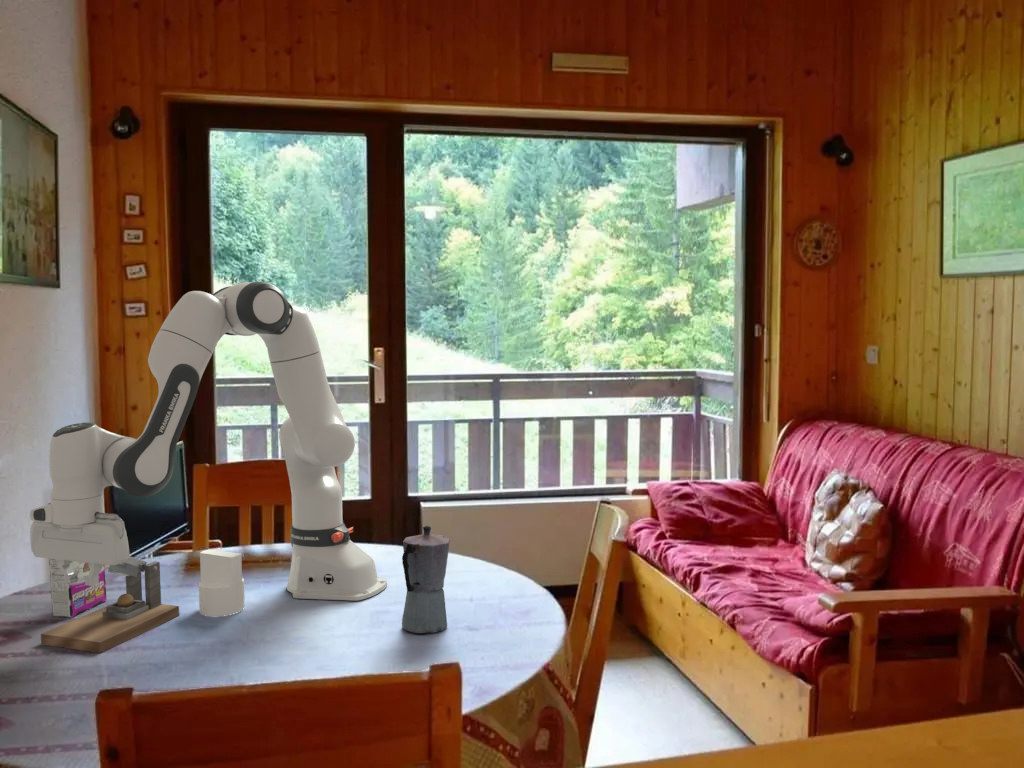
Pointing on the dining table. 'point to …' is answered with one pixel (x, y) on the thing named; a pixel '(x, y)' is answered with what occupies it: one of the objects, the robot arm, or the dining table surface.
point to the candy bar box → (74, 590)
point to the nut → (125, 600)
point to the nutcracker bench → (116, 618)
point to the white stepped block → (221, 583)
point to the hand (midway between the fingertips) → (81, 583)
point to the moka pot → (425, 582)
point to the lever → (128, 567)
